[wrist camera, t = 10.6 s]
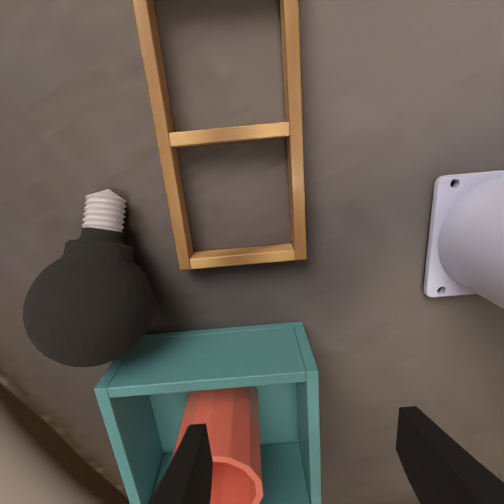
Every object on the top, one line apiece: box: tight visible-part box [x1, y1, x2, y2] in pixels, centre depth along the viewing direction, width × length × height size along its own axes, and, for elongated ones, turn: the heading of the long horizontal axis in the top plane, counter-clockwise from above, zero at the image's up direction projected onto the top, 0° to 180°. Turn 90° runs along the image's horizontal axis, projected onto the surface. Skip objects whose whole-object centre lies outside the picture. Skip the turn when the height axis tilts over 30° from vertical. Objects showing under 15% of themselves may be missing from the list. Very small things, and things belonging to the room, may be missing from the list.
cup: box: [170, 386, 263, 504], centre depth 19 cm, size 5×5×6 cm
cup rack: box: [132, 0, 307, 270], centre depth 16 cm, size 8×15×2 cm, turn 5°
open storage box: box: [94, 321, 321, 504], centre depth 20 cm, size 12×11×5 cm
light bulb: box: [23, 189, 154, 367], centre depth 17 cm, size 6×6×10 cm
